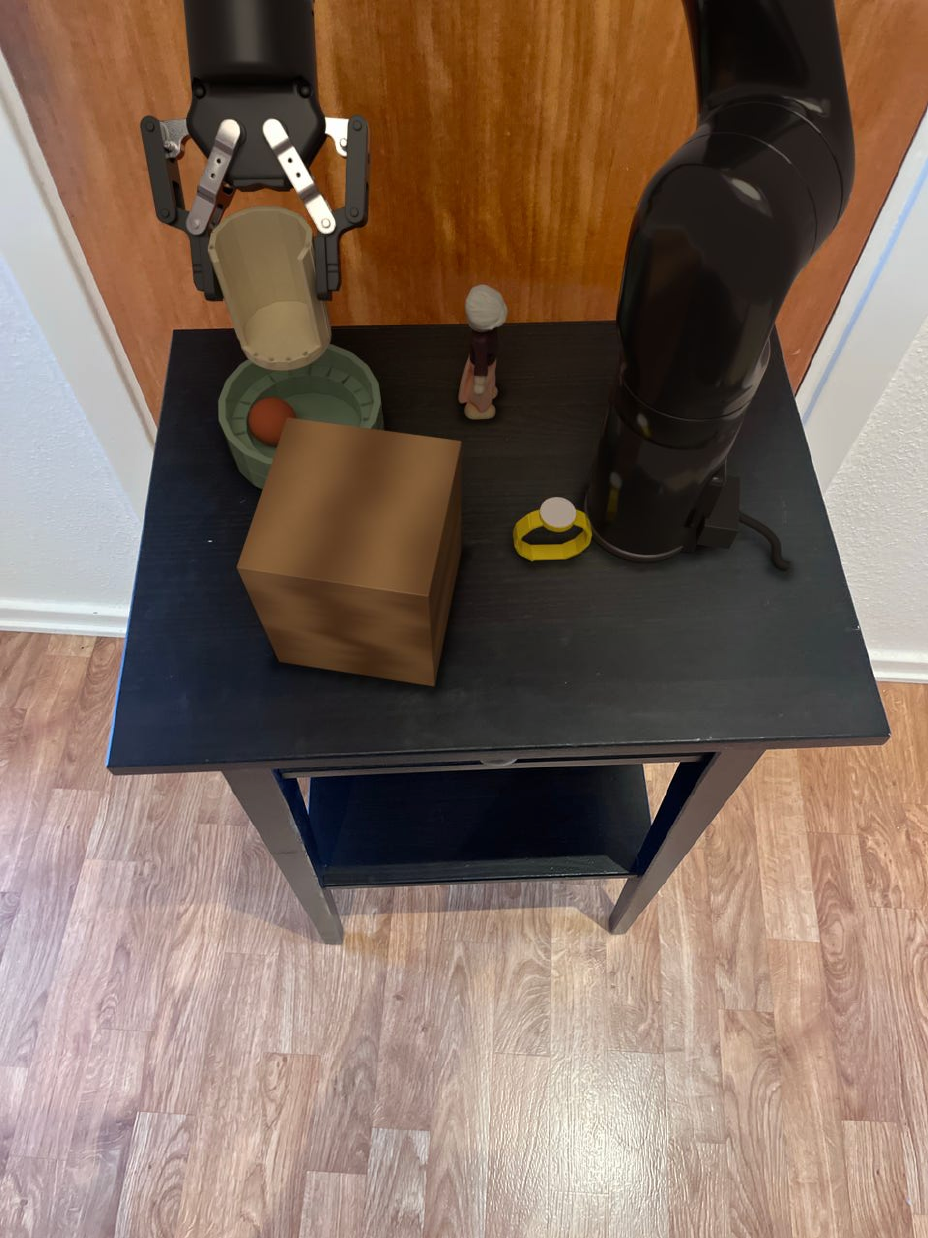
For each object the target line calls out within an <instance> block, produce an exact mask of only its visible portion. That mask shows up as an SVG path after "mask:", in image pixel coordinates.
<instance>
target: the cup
mask: <svg viewBox="0 0 928 1238" xmlns="http://www.w3.org/2000/svg"><path fill="white" fill-rule="evenodd" d="M314 237H315V234H314V231H313V228H312V227H311V226H310V225H309V223H308V222H307V220H306V219H305V218H304V217H303V215H302V214H300V213H299V212H296V211H295V210H294V211H293V210H290V209H289V208H286V207H283V206H280V205H279V206H278V205H258V206H257V205H255V206H250V207H246V208H243V209H241V210H239V211H237V212H233V213H231V214H229V215H228V216H226V217H225V218H224V219H222V220H221V222H220V224H219V225H218V226H217V227H216V228H215V229H214V230H213V231H212V233H211V236H210V241H209V245H208V253H209V255H210V258H211V261H212V264H213V267H214V270H215V273H216V276H217V279H218V282H219V285H220V288H221V291H222V294H223V297H224V300H223V301H224V303H225V305H226V308H227V311H228V314H229V317H230V321H231V324H232V326H233V330H234V332H235V334H236V338H237V340H238V341H239V344H240V348H241V350H242V352H243V354H244V355H245V356H246V358H247V360H248V359H249V360H251V361H252V362H253V363H255V364H256V365H258V366H260V367H263V368H266V369H270V370H276V371H286V370H293V369H298V368H301V367H304V366H306V365H308V364H310V363H312V362H314V361H315V360H317V359H318V358H319V357H320V356H321V355H322V354H323V353H324V352H325V351H326V349H327V348H328V346H329V344H331V340H332V336H333V334H332V333H333V331H332V318H331V314H330V310H329V309H330V307H329V303H328V301H319V300H318V298H317V290H316V272H315V254H314Z"/></svg>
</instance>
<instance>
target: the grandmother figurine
mask: <svg viewBox="0 0 928 1238" xmlns="http://www.w3.org/2000/svg"><path fill="white" fill-rule="evenodd" d="M464 309H465V319H466V322H467V324H468V326H469V327H470V329H471V333H470V340H469V354H468V358H467V360H466V362H465V366H464V369H463V373H462V375H461V380H460V385H459V390H458V391H459V392H458V398H457V399H458V403H460V404H465V406H464V411H463V413H464V415H465V416H466V418H467V419H470V420H489V419H492V418H493V417H494V416H495V415H496V408H495V406H494V404H493V399H496V397H497V395H498V392H499V390H498V388H497V386H496V366H497V358H498V355H499V337H498V334H499V333H498V328H499V327H501V326H502V325H504V324H505V322H506V321H507V316H508V313H509V312H508V307H507V304H506V303H505V301H504V298H503V296H502V294H501V293H500V292H499V291H498V290H496V289H495V288H493V287H491V286H489V285H487V284H478V285H476V286H473V287H472V288H471V289H470V290H469V292H468V295H467V297H466V299H465V304H464Z"/></svg>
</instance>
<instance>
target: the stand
mask: <svg viewBox="0 0 928 1238" xmlns="http://www.w3.org/2000/svg"><path fill="white" fill-rule="evenodd" d="M462 445H463V443H462V441H461V440H457V439H448V438H440V437H433V436H427V435H418V434H412V433H404V432H396V431H389V430H384V431H383V430H375V429H368V428H361V427H353V426H346V425H339V424H332V423H324V422H317V421H310V420H302V419H295V418H287V420H286V422H285V425H284V428H283V431H282V434H281V437H280V440H279V443H278V446H277V449H276V452H275V455H274V458H273V461H272V464H271V467H270V470H269V473H268V476H267V479H266V482H265V485H264V488H263V489H262V491H261V494H260V497H259V499H258V503H257V505H256V508H255V511H254V515H253V517H252V520H251V523H250V526H249V530H248V533H247V535H246V538H245V541H244V544H243V547H242V551H241V553H240V556H239V558H238V563H237V565H236V569H237V571H238V574H239V577H240V578H241V580H242V583H243V585H244V587H245V590H246V591H247V594H248V596H249V598H250V601H251V603H252V605H253V607H254V609H255V611H256V614H257V616H258V618H259V621H260V623H261V625H262V627H263V629H264V632H265V633H266V636H267V638H268V641H269V643H270V645H271V648H272V649H273V651H274V654H275V656H276V658H277V660H278V662H279V663H283V664H284V663H285V664H290V665H298V666H303V667H310V668H316V669H321V670H329V671H336V672H342V673H346V674H353V675H360V676H367V677H372V678H380V679H385V680H392V681H399V682H406V683H410V684H417V685H422V686H423V685H424V686H428V687H429V686H430V687H435V686H436V681H437V677H438V671H439V666H440V660H441V657H442V650H443V645H444V641H445V637H446V630H447V628H448V627H447V626H448V621H449V615H450V611H451V607H452V600H453V595H454V591H455V586H456V581H457V575H458V570H459V566H460V561H461V556H462V499H463V497H462V495H463V494H462V491H463V489H462V488H463V487H462V479H463V475H462V471H463V469H462V468H463V467H462V460H463V459H462V457H463V456H462V455H463V453H462V448H463V447H462Z"/></svg>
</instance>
